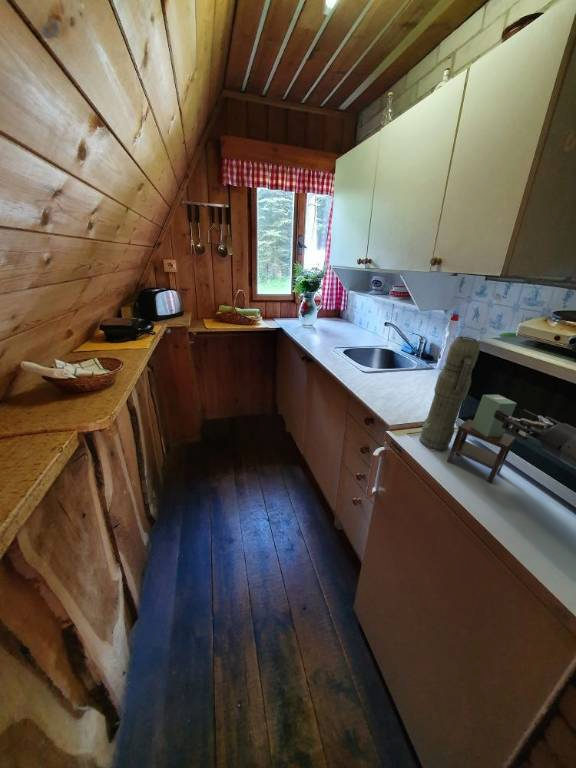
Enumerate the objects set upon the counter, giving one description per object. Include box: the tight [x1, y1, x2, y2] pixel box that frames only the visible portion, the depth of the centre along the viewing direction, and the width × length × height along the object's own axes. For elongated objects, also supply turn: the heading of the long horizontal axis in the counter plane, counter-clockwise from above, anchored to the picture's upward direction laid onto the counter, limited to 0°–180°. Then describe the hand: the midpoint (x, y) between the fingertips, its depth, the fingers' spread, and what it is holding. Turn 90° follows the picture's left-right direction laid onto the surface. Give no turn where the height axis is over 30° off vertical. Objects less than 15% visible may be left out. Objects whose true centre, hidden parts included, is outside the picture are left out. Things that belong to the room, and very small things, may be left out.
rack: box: [446, 418, 516, 484], centre depth 87 cm, size 12×8×12 cm, turn 42°
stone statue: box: [419, 336, 480, 452], centre depth 93 cm, size 9×12×35 cm
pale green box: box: [471, 394, 517, 437], centre depth 83 cm, size 6×6×10 cm
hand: (508, 413), depth 79 cm, fingers open, 8 cm apart
